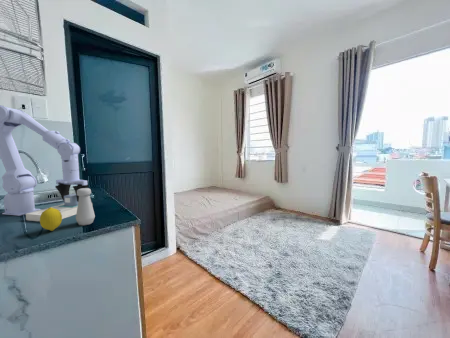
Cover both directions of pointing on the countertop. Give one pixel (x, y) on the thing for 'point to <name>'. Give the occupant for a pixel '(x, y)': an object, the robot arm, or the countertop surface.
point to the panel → (64, 210)
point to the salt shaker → (84, 207)
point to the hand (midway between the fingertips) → (73, 200)
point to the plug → (70, 200)
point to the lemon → (50, 219)
